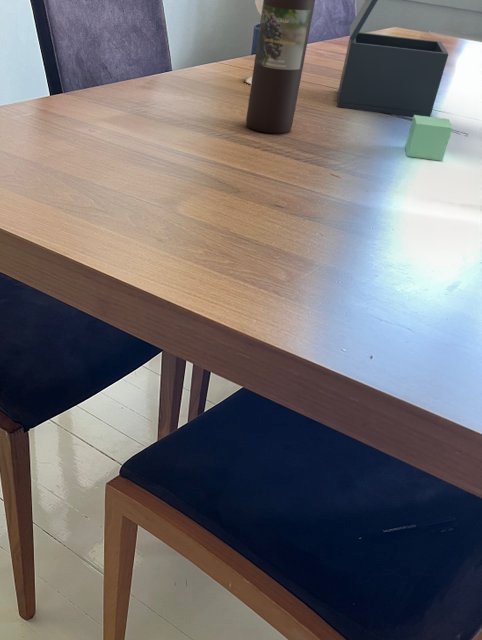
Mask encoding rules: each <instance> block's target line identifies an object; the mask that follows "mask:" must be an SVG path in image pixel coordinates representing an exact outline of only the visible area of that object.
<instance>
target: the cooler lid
mask: <svg viewBox="0 0 482 640" xmlns="http://www.w3.org/2000/svg"><path fill="white" fill-rule="evenodd" d="M378 1H379V0H364V2H363V4H362V5H361V7H360V8H359V11H358V12H357V14H356V15H355V17H354V19H353V21H352V22H351V24H350V26H349V39H351V40H353V41H354V40H355V38H356V36H357V35H358V33H359V32H360V31H361V29H362V28H363V26H364V25H365V23H366V21H367V19H368V18H369V16H370V15H371V13H372V11H373V10H374V8H375V6H376V4H377V2H378Z"/></svg>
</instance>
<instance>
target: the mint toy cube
mask: <svg viewBox="0 0 482 640" xmlns="http://www.w3.org/2000/svg"><path fill="white" fill-rule="evenodd" d="M452 132H453V126H452V123H451V121H450V119H449V118H441V117H434V116H430V117H427V116H419V115H414V116H412V120H411V123H410V127H409V131H408V134H407V138H406V142H405V144H404V149H405V154H406V157H409V158H418V159H423V160H424V159H426V160H433V161H440V162H443V160H444V157H445V154H446V151H447V147H448V144H449V142H450V139H451V135H452Z"/></svg>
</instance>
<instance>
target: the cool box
mask: <svg viewBox="0 0 482 640" xmlns="http://www.w3.org/2000/svg"><path fill="white" fill-rule="evenodd" d="M448 57H449V52H448V51H447V49H446V47H445V46H444V44H443V42H442V41H440V40H431V39H421V38H415V37H405V36H395V35H385V34H378V33H377V34H376V33H368V32H360V31H359V33H358V35H357V36H356V38H355V40H354V41H353V40H351V39H350V38H348V44H347V48H346V53H345V58H344V62H343V66H342V71H341V77H340V81H339V86H338V89H337V92H338V93H337V104H336V107H337V108H344V109H352V110H360V111H367V112H375V113H383V114H391V115H398V116H405V117H406V116H407V117H413V116H414V115H419V116H427V117H432V116H431V115H432V113H433V110H434V105H435V102H436V99H437V95H438V93H439V89H440V85H441V82H442V79H443V76H444V71H445V67H446V65H447V62H448V59H449V58H448Z"/></svg>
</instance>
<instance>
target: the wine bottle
mask: <svg viewBox="0 0 482 640" xmlns="http://www.w3.org/2000/svg"><path fill="white" fill-rule="evenodd" d="M315 3H316V0H264V1H263V8H262V15H260V21H259V22H260V23H259V30H258V36H257V42H256V50H255V55H254V56H255V57H254V64H253V69H252V75H251V77H252V83H251V85H250V90H249V98H248V105H247V111H246V118H245V124H246V126H247V128H249V129H251V130H253V131H255V130H256V131H255V132H259V133H265V134H276V135H278V134H285V133H289V132H290V131H291V130H292V127H293V124H294V123H293V122H294V118H295V112H296V108H297V107H296V106H297V100H298V96H299V91H300V87H301V86H300V84H301V79H302V75H303V68H304V64H305V57H306V52H307V48H308V47H307V46H308V41H309V35H310V30H311V25H312V21H313V15H314V10H315V9H314V8H315Z"/></svg>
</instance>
